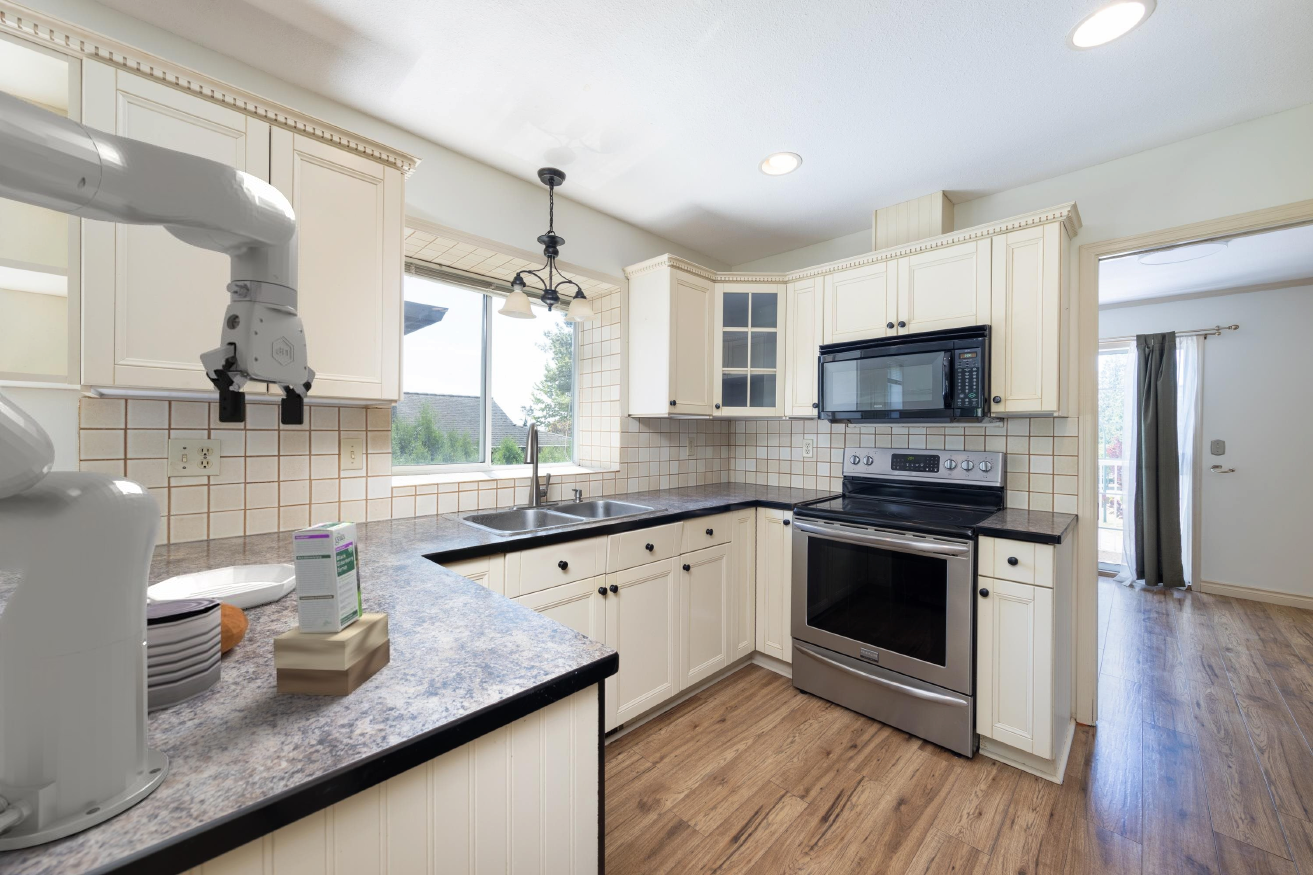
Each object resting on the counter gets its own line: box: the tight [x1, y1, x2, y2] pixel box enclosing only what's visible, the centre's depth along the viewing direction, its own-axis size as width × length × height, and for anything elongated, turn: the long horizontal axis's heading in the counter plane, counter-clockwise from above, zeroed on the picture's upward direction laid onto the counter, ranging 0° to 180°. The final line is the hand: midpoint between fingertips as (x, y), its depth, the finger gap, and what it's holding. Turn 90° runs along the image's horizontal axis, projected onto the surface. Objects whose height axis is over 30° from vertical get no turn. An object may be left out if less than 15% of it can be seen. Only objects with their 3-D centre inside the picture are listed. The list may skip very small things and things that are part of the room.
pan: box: [147, 563, 296, 611], centre depth 109 cm, size 31×25×4 cm
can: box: [147, 598, 224, 713], centre depth 70 cm, size 11×11×12 cm
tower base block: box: [275, 637, 391, 696], centre depth 74 cm, size 10×10×4 cm
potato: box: [219, 603, 249, 655], centre depth 82 cm, size 9×11×8 cm
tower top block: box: [273, 612, 389, 670], centre depth 74 cm, size 10×10×4 cm
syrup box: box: [291, 521, 363, 633], centre depth 73 cm, size 6×6×14 cm
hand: (264, 423), depth 72 cm, fingers open, 9 cm apart
